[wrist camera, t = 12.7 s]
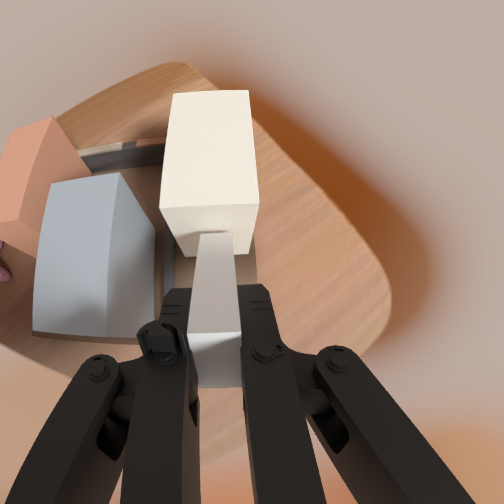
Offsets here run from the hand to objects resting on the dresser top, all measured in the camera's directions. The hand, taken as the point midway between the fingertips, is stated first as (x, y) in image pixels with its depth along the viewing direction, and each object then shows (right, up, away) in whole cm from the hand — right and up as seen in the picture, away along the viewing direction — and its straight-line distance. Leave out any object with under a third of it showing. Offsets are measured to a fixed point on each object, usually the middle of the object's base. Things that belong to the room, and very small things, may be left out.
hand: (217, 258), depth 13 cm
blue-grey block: (-6, -2, +3) cm, 7 cm away
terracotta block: (-13, +3, +4) cm, 14 cm away
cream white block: (-1, +3, +5) cm, 6 cm away
